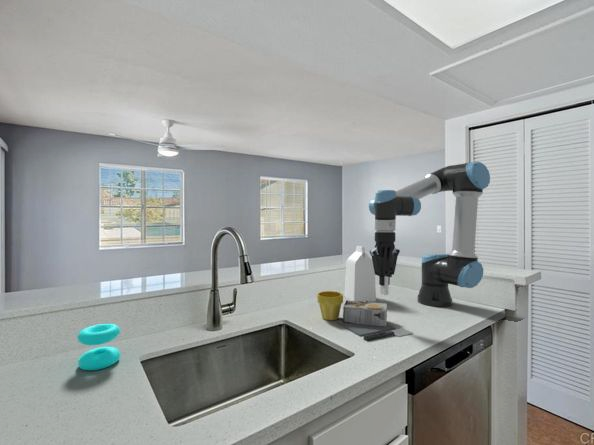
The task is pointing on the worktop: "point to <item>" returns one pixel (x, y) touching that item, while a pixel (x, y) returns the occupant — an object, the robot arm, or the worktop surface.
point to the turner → (388, 334)
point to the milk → (360, 277)
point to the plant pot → (330, 304)
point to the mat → (365, 328)
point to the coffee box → (365, 313)
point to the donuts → (100, 355)
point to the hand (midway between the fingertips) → (384, 293)
